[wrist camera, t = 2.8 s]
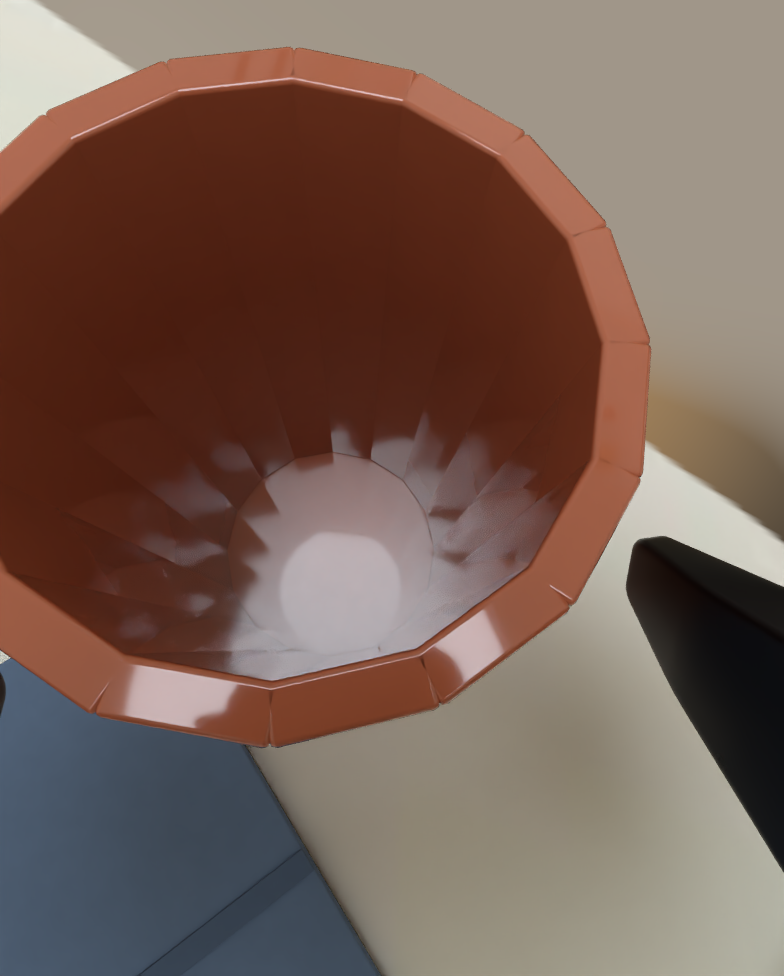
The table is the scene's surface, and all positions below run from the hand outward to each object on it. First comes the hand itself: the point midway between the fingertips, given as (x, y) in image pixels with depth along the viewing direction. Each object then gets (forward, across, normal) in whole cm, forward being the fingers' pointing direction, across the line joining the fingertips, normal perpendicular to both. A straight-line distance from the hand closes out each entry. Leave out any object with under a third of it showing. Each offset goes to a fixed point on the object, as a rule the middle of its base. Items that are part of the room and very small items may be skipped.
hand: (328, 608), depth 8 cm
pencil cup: (+8, 0, +5) cm, 10 cm away
